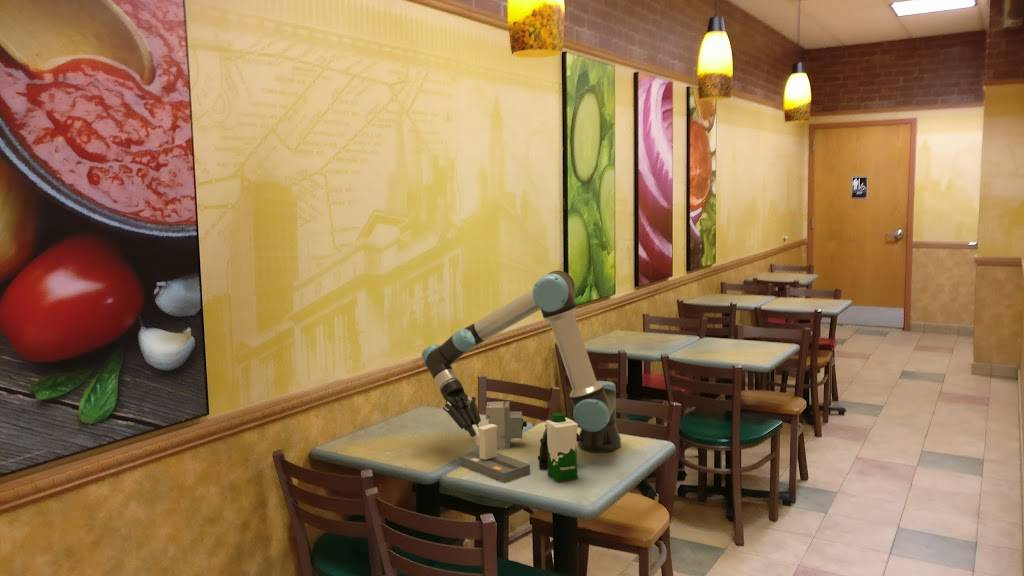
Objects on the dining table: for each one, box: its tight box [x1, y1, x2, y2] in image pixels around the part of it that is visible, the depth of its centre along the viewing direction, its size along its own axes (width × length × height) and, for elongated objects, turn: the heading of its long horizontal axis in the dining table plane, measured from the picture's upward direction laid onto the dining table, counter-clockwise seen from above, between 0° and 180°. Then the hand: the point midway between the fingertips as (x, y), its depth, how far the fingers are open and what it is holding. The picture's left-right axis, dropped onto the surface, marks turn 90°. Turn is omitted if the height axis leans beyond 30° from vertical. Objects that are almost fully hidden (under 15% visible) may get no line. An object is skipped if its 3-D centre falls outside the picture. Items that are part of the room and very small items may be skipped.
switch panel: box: [460, 450, 531, 484], centre depth 262 cm, size 22×11×3 cm, turn 42°
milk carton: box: [545, 411, 579, 483], centre depth 252 cm, size 9×9×20 cm
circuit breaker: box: [485, 400, 528, 450], centre depth 285 cm, size 8×14×15 cm, turn 89°
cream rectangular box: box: [478, 423, 498, 460], centre depth 263 cm, size 3×6×10 cm, turn 132°
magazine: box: [537, 424, 580, 471], centre depth 262 cm, size 4×13×15 cm, turn 99°
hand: (481, 443), depth 265 cm, fingers closed
